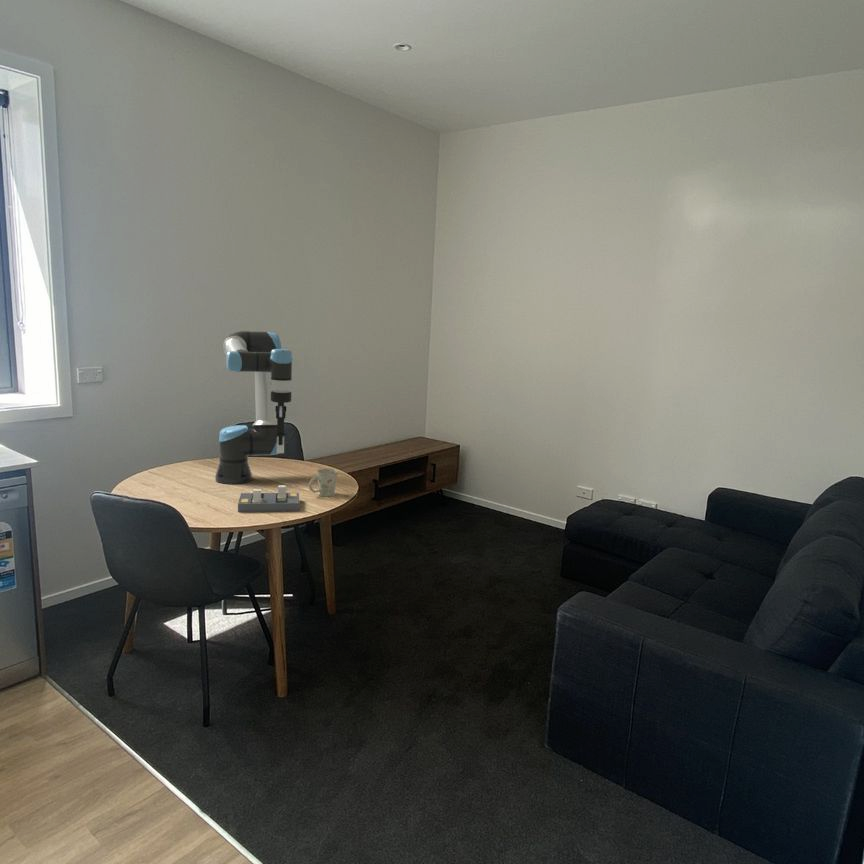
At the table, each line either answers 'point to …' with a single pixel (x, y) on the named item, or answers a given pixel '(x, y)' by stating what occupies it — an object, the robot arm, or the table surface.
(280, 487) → the tab
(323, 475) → the mug
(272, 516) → the table surface
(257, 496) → the tab
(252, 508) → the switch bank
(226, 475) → the robot arm
